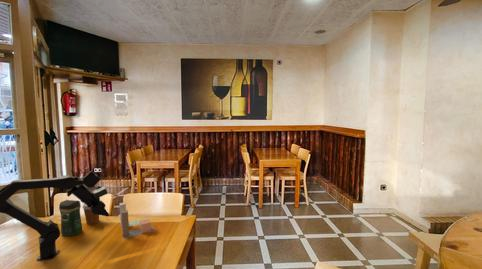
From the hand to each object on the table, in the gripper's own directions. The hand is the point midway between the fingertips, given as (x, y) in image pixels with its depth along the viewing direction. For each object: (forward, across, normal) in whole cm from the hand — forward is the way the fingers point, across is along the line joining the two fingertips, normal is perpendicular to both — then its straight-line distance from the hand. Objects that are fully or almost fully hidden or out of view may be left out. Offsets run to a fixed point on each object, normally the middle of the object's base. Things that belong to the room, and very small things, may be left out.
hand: (106, 213), depth 129 cm
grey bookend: (+20, +5, -5) cm, 22 cm away
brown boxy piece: (+19, -7, -3) cm, 20 cm away
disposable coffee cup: (+9, +26, +10) cm, 30 cm away
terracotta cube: (+20, -8, -6) cm, 23 cm away
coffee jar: (+2, +19, +19) cm, 27 cm away
